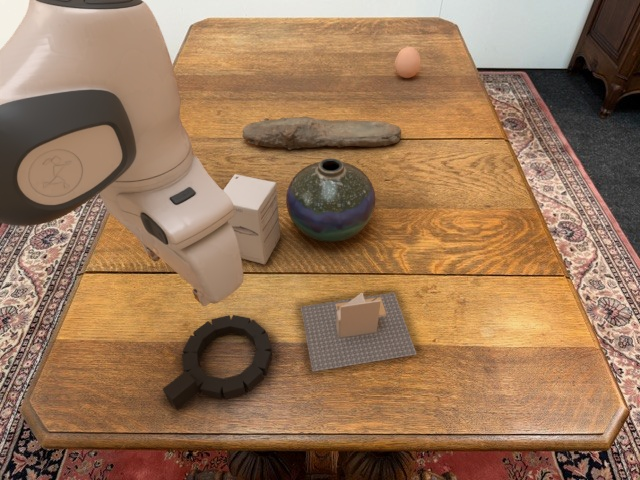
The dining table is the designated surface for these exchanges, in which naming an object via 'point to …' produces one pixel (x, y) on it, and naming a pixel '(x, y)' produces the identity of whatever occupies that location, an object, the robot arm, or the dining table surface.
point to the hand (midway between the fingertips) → (180, 276)
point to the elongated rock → (320, 133)
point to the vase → (330, 200)
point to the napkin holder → (356, 331)
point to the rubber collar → (215, 387)
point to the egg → (407, 62)
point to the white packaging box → (254, 216)
